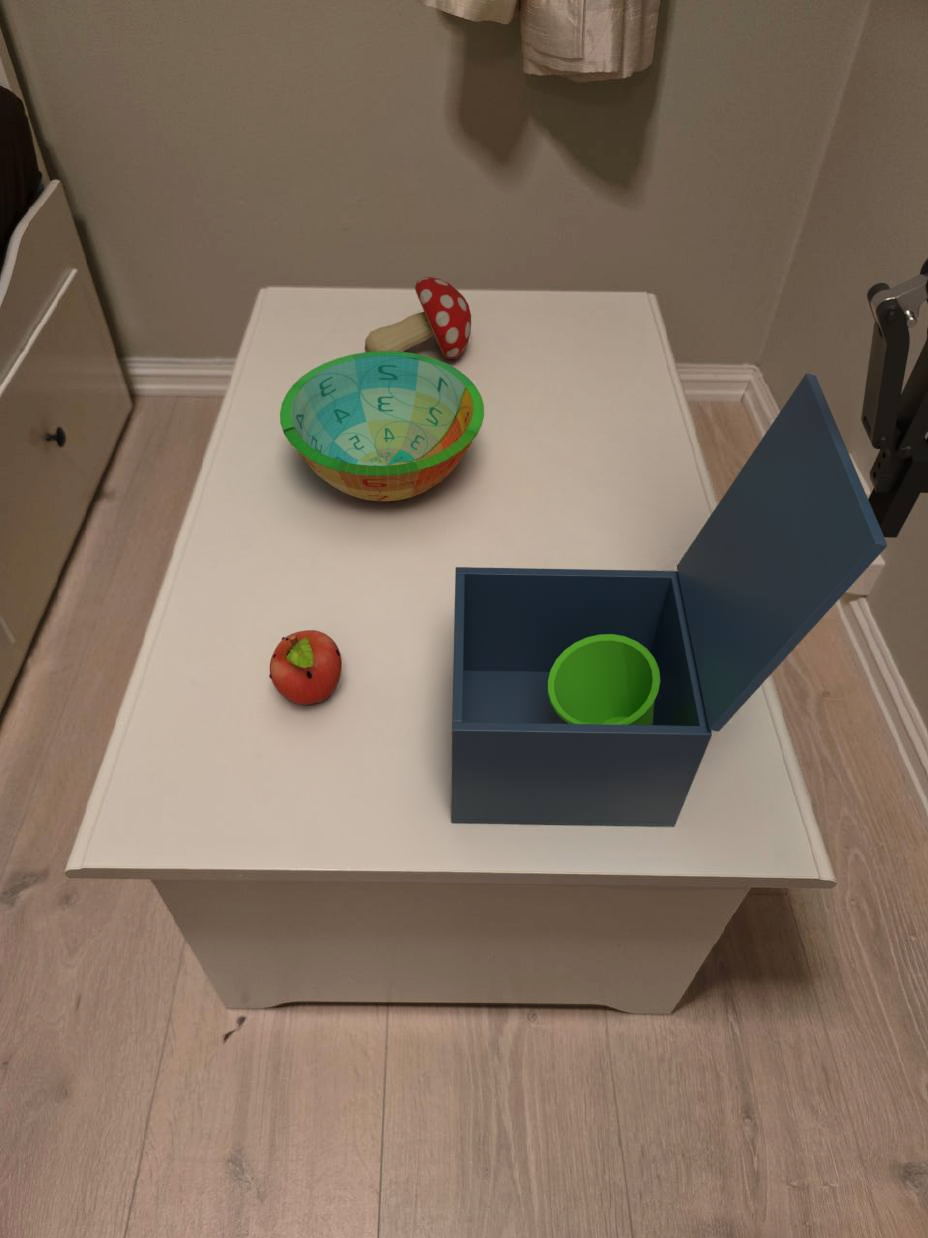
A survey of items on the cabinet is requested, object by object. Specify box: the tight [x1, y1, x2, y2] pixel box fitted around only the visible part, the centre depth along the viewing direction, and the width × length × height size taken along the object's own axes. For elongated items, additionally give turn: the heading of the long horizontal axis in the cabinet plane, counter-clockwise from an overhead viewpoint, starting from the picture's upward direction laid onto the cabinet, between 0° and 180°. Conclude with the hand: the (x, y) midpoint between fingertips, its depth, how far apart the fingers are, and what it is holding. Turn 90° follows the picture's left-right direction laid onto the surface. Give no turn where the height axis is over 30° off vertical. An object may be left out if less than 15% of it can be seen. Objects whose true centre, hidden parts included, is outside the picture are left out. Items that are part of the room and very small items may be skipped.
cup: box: [547, 634, 660, 725], centre depth 75 cm, size 9×9×11 cm
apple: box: [268, 629, 343, 706], centre depth 81 cm, size 8×7×10 cm
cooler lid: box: [676, 372, 888, 733], centre depth 63 cm, size 20×17×1 cm
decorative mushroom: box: [364, 276, 472, 360], centre depth 119 cm, size 11×11×15 cm
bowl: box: [279, 351, 485, 502], centre depth 101 cm, size 22×22×10 cm
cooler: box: [450, 566, 713, 828], centre depth 76 cm, size 19×17×14 cm
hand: (879, 523), depth 60 cm, fingers closed
